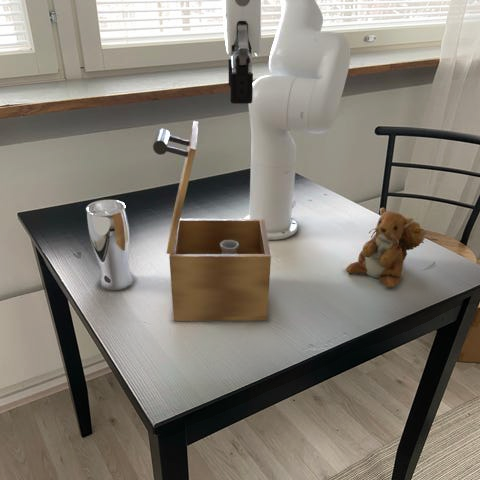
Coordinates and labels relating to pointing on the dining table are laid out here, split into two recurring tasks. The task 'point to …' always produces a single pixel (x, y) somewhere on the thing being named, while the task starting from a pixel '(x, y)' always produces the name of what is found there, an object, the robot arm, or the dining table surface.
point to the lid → (161, 148)
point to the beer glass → (110, 242)
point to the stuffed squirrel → (388, 248)
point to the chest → (220, 271)
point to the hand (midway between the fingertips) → (239, 94)
